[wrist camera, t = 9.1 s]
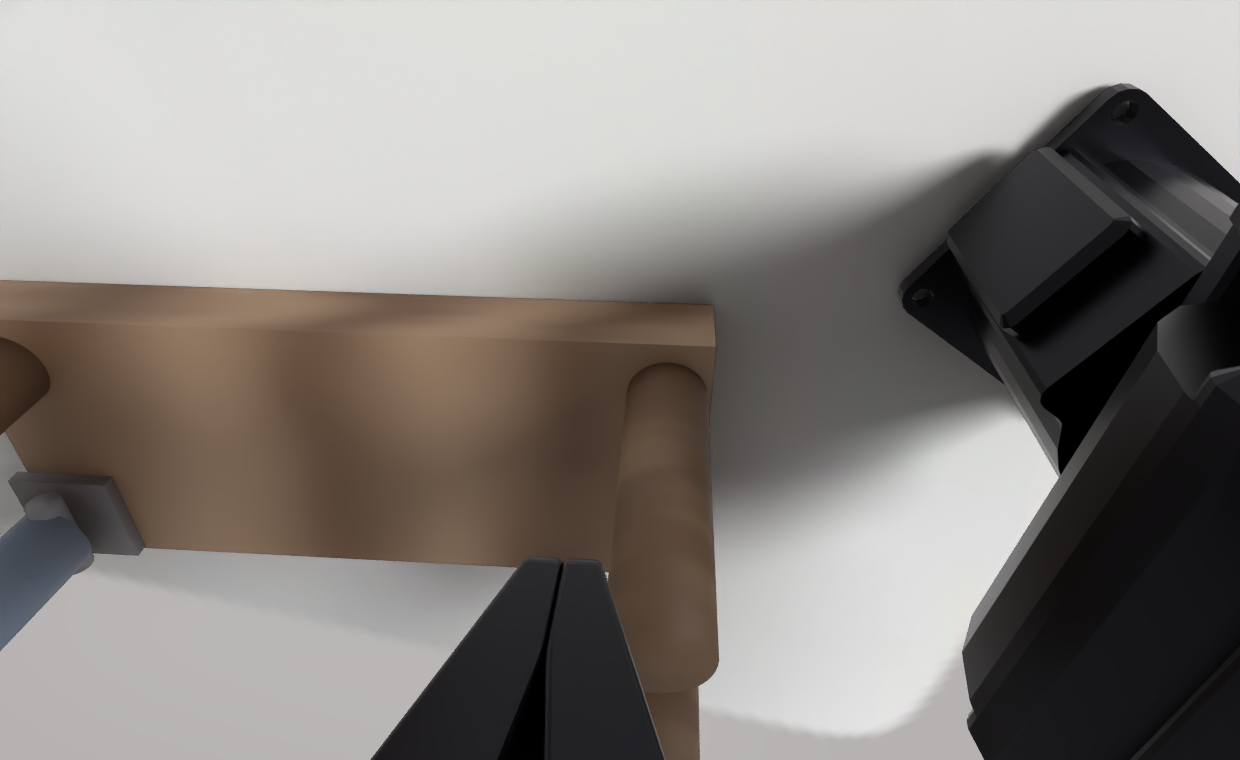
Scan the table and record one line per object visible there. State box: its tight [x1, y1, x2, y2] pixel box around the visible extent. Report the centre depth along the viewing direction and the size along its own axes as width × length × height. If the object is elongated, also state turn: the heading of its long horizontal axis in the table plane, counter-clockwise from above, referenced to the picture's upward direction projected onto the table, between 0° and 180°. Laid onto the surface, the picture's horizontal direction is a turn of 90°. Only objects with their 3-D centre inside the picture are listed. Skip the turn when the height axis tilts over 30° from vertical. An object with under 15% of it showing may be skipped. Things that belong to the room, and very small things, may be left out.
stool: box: [0, 280, 719, 760], centre depth 19 cm, size 20×8×10 cm, turn 90°
